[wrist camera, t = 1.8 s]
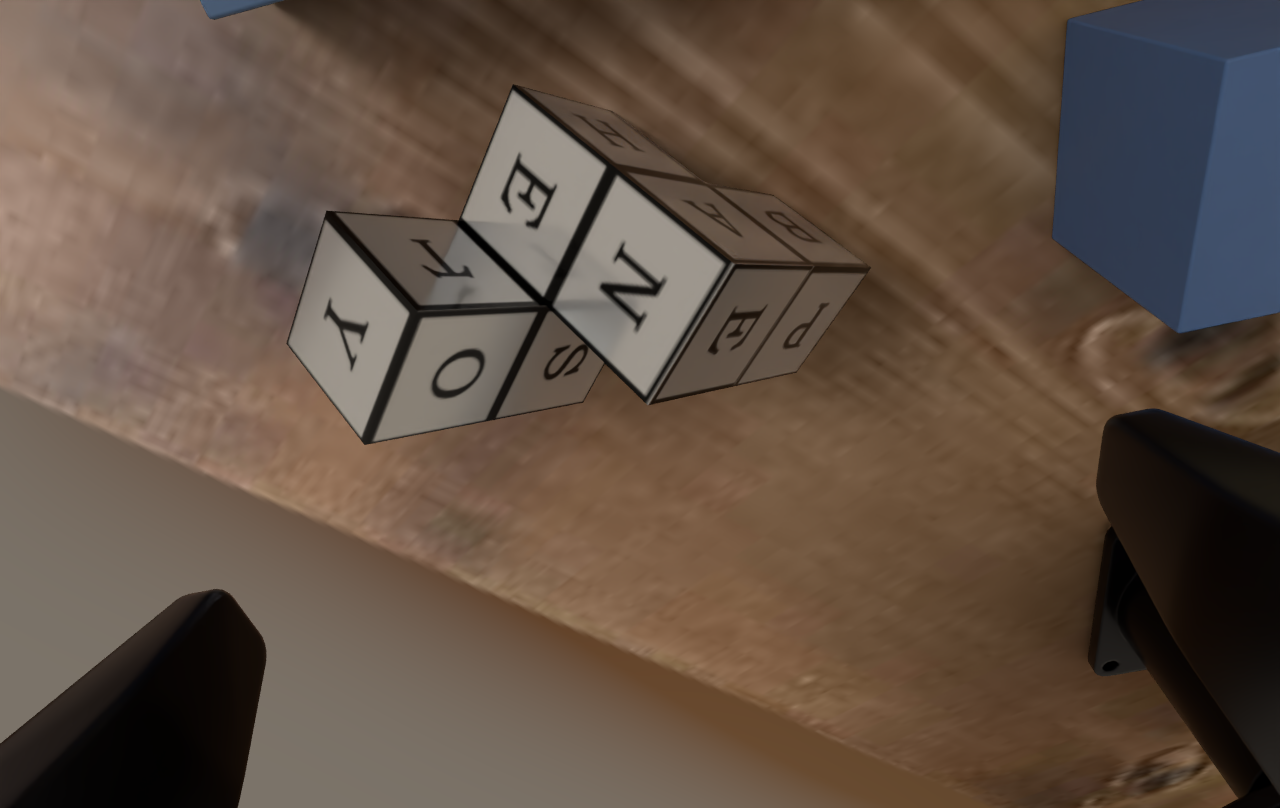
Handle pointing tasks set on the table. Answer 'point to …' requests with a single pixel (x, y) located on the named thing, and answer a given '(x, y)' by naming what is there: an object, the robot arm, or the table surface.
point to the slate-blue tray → (232, 6)
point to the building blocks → (562, 283)
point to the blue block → (1175, 156)
